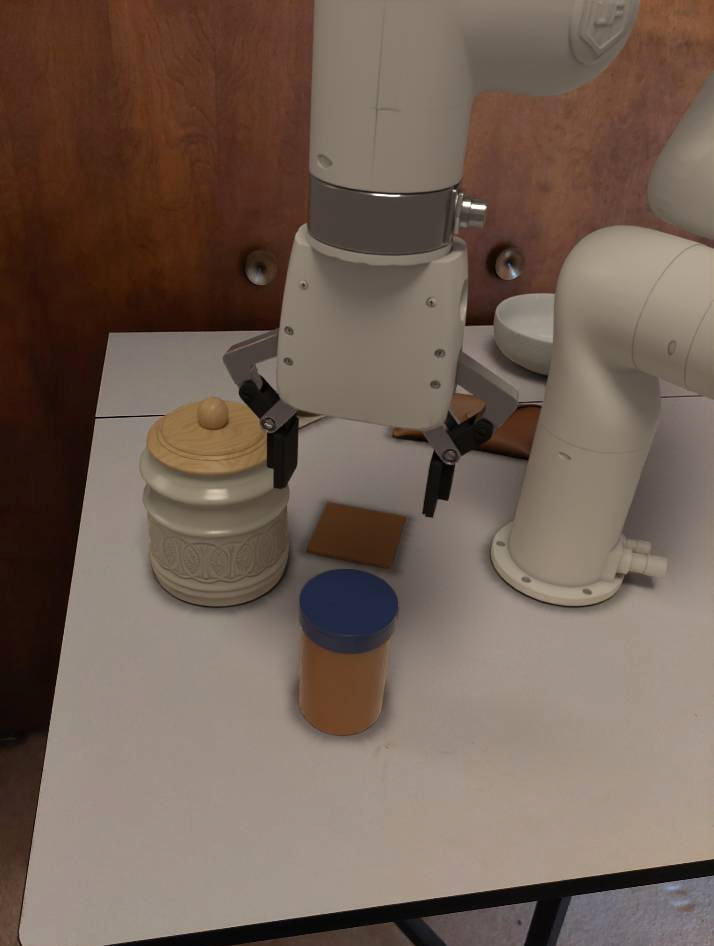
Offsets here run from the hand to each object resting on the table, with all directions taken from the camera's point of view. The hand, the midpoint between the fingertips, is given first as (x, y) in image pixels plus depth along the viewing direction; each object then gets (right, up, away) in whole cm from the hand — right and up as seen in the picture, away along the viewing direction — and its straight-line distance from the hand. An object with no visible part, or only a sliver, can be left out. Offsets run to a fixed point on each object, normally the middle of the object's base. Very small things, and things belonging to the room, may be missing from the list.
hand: (357, 491), depth 51 cm
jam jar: (-1, -16, +13) cm, 20 cm away
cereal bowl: (+30, +22, +61) cm, 72 cm away
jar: (-12, -6, +26) cm, 29 cm away
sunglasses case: (+16, +10, +46) cm, 50 cm away
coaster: (+2, -3, +30) cm, 30 cm away
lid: (0, -8, +6) cm, 10 cm away
